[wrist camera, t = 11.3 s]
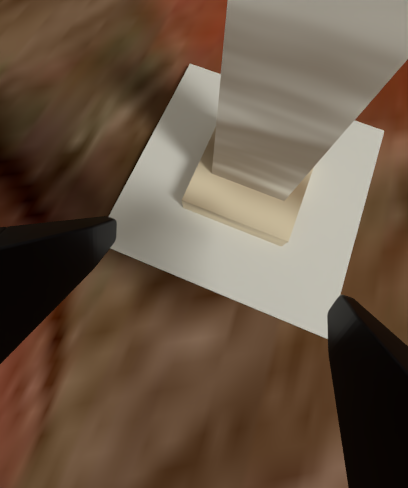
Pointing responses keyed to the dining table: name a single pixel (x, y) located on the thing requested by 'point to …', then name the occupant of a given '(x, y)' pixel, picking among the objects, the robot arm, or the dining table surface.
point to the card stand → (289, 102)
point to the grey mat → (236, 241)
